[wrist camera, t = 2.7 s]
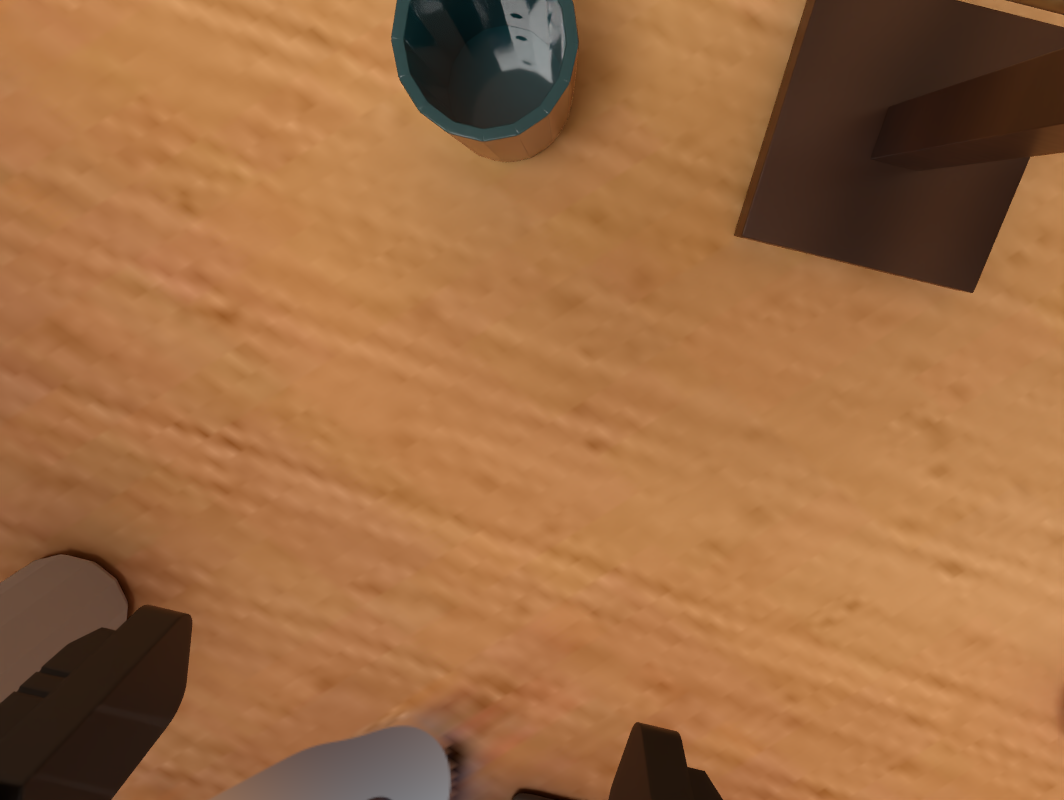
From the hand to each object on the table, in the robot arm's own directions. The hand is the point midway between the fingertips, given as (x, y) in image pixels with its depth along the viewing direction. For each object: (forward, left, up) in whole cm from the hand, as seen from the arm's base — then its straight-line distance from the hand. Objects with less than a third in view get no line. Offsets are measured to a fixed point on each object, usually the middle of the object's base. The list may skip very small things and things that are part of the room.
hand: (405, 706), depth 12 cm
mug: (-5, -16, -26) cm, 31 cm away
